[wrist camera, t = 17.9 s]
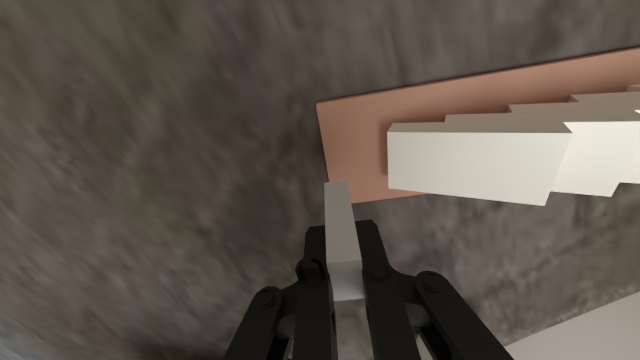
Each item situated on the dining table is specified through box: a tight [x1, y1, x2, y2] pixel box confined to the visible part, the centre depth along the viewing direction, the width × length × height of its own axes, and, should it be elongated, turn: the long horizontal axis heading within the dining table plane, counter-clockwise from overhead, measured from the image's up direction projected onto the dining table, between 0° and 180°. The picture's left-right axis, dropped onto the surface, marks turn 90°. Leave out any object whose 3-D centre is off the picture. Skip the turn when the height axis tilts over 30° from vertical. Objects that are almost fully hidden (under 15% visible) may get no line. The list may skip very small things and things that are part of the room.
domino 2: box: [445, 110, 640, 197], centre depth 17 cm, size 2×5×10 cm
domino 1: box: [387, 121, 573, 206], centre depth 17 cm, size 2×5×10 cm
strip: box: [316, 47, 640, 204], centre depth 20 cm, size 28×10×1 cm, turn 100°
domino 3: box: [507, 100, 640, 184], centre depth 17 cm, size 2×5×10 cm
